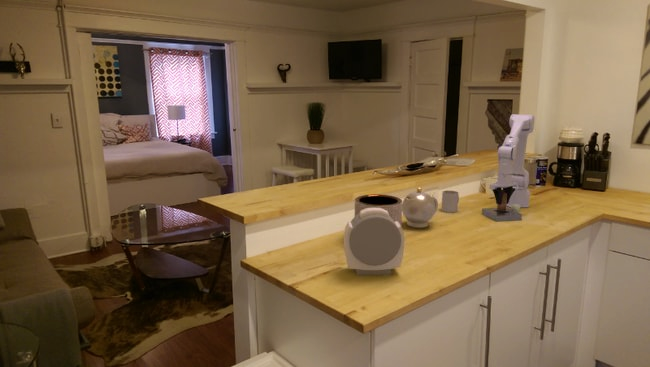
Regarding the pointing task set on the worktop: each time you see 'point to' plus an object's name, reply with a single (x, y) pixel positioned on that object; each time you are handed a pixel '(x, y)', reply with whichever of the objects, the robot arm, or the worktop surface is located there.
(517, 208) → the pale cream cylinder
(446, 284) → the worktop surface
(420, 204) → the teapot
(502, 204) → the walnut dowel
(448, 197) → the cup
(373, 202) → the planter
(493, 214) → the collar plate
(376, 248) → the alarm clock
